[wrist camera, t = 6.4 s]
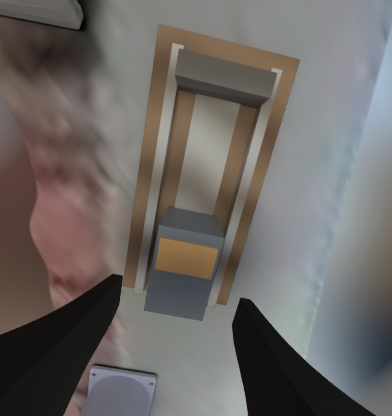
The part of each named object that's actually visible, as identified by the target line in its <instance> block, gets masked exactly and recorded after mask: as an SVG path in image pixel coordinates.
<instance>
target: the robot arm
mask: <svg viewBox="0 0 392 416" xmlns="http://www.w3.org/2000/svg"><path fill="white" fill-rule="evenodd" d="M122 280H123V276H122V275H116V274H112V275H110V276H109V277H107V278H106V279H105V280H103V281H102V282H100V283H99V284H98V285H96V286H95V287H93V288H92V289H90V290H89V291H87V292H86V293H84V294H83V295H81V296H80V297H78V298H76V299H75V300H73V301H71V302H70V303H68V304H66V305H65V306H63V307H61V308H59V309H57V310H55V311H53V312H51V313H50V314H48V315H45V316H43V317H41V318H39V319H37V320H35V321H32V322H30V323H28V324H26V325H23V326H21V327H19V328H16V329H14V330H11V331H9V332H6V333H3V334H1V335H0V416H63V415H64V413H65V411H66V408H67V406H68V404H69V402H70V400H71V397H72V395H73V393H74V391H75V389H76V387H77V385H78V383H79V380H80V378H81V376H82V374H83V372H84V370H85V368H86V366H87V364H88V363H89V361H90V359H91V357H92V356H93V354H94V352H95V350H96V348H97V347H98V345H99V343H100V341H101V340H102V338H103V336H104V334H105V333H106V331H107V329H108V327H109V326H110V324H111V322H112V320H113V318H114V315H115V313H116V311H117V308H118V306H119V302H120V295H121V287H122ZM232 331H233V340H234V346H235V351H236V355H237V360H238V364H239V369H240V373H241V378H242V382H243V386H244V391H245V397H246V403H247V410H248V416H376V415H374V414H373V413H371V412H370V411H368V410H367V409H366V408H364V407H363V406H361V405H360V404H358V403H357V402H355V401H354V400H353V399H351V398H350V397H349V396H347V395H346V394H345V393H344V392H342V391H341V390H340V389H338V388H337V387H336V386H334V385H333V384H332V383H331V382H329V381H328V380H327V379H326V378H325V377H323V376H322V375H321V374H320V373H319V372H318V371H316V370H315V369H314V368H313V367H312V366H311V365H309V363H307V362H306V361H305V360H304V359H303V358H302V357H301V356H300V355H299V354H298V353H297V352H296V351H295V350H294V349H293V348H292V347H291V346H290V345H289V344H288V343H287V342H286V341H285V340H284V339H283V338H282V336H281V335H280V334H279V333H278V332H277V331H276V330H275V329H274V327H273V326H272V325H271V324H270V323H269V322H268V320H267V319H266V318H265V317H264V315H263V314H262V313H261V312H260V311H259V309H258V308H257V307H256V306H255V304H254V303H253V302H252V301H251V300H250V299H246V298H240V301H239V304H238V307H237V310H236V313H235V316H234V320H233V323H232ZM156 380H157V377H156V376H155V375H152V374H146V373H139V372H133V371H127V370H121V369H115V368H109V367H102V366H96V365H94V366H92V367H91V369H90V376H89V386H88V396H87V401H86V403H85V405H84V407H83V409H82V412H81V414H80V416H149V412H150V408H151V403H152V399H153V394H154V390H155V385H156Z"/></svg>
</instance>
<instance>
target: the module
mask: <svg viewBox="0 0 392 416" xmlns="http://www.w3.org/2000/svg"><path fill="white" fill-rule="evenodd" d="M224 239H225V238H224V235H223V232H222V229H221V226H220V223H219V220H218V217H217V216H214V215H209V214H204V213H199V212H194V211H190V210H185V209H180V208H175V207H170V206H169V208H168V209H167V211H166V213H165V215H164V217H163V219H162V220H161V222H160V224H159V228H158V234H157V239H156V245H155V250H154V256H153V262H152V267H151V273H150V279H149V284H148V290H147V296H146V301H145V307H144V311H149V312H155V313H161V314H166V315H172V316H177V317H183V318H188V319H194V320H200V321H202V319H203V316H204V312H205V308H206V305H207V301H208V297H209V294H210V290H211V286H212V283H213V279H214V275H215V272H216V268H217V265H218V261H219V257H220V254H221V250H222V246H223V243H224Z"/></svg>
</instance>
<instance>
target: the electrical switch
mask: <svg viewBox="0 0 392 416" xmlns="http://www.w3.org/2000/svg"><path fill="white" fill-rule="evenodd" d="M0 15H4V16H9V17H14V18H20V19H25V20H30V21H35V22H41V23H46V24H51V25H56V26H62V27H67V28H72V29H79V28H80V25H81V23H82V20H83V13H82V10H81V7H80V5H79V3H78V2H77V0H0Z"/></svg>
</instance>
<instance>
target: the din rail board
mask: <svg viewBox="0 0 392 416" xmlns="http://www.w3.org/2000/svg"><path fill="white" fill-rule="evenodd" d="M299 62H300V59H296V58H292V57H288V56H284V55H280V54H276V53H272V52H268V51H264V50H260V49H256V48H252V47H249V46H245V45H241V44H237V43H233V42H229V41H225V40H221V39H217V38H213V37H209V36H205V35H201V34H197V33H194V32H190V31H186V30H182V29H178V28H174V27H170V26H166V25H162V24H159V27H158V34H157V41H156V49H155V56H154V63H153V70H152V78H151V85H150V92H149V100H148V107H147V114H146V122H145V129H144V136H143V143H142V151H141V158H140V165H139V173H138V180H137V187H136V194H135V202H134V209H133V216H132V224H131V231H130V238H129V246H128V253H127V260H126V267H125V275H124V282H123V286H125V287H130V288H134V293H139V294H142V293H143V290H146V291H147V290H148V284H149V279H150V273H151V267H152V262H153V256H154V250H155V245H156V239H157V234H158V228H159V224H160V222H161V220H162V219H163V217H164V215H165V213H166V211H167V209H168V208H169V206H170V207H175V208H180V209H185V210H190V211H194V212H199V213H204V214H209V215H214V216H217V217H218V220H219V223H220V226H221V229H222V232H223V235H224V238H225V239H224V243H223V246H222V250H221V254H220V257H219V261H218V265H217V268H216V272H215V275H214V279H213V283H212V286H211V290H210V294H209V297H208V301H207V306H211V307H215V305H216V303H217V304H223V305H226V303H227V300H228V297H229V293H230V290H231V287H232V283H233V280H234V277H235V274H236V270H237V267H238V264H239V260H240V257H241V254H242V250H243V247H244V244H245V241H246V237H247V234H248V231H249V227H250V224H251V221H252V217H253V214H254V211H255V207H256V204H257V201H258V198H259V194H260V191H261V188H262V184H263V181H264V178H265V174H266V171H267V168H268V164H269V161H270V158H271V155H272V151H273V148H274V145H275V141H276V138H277V135H278V131H279V128H280V125H281V122H282V118H283V115H284V112H285V108H286V105H287V102H288V98H289V95H290V92H291V88H292V85H293V82H294V79H295V75H296V72H297V69H298V65H299Z"/></svg>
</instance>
